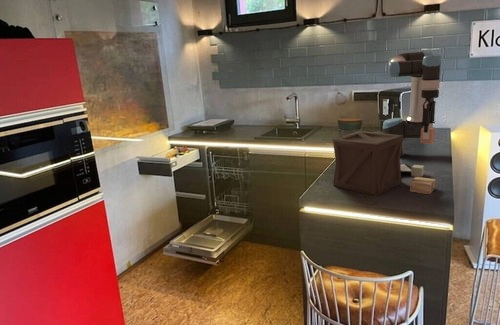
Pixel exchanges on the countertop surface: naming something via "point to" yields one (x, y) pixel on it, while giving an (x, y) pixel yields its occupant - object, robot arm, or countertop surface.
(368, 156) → the wooden crate
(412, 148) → the countertop surface
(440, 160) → the countertop surface
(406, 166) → the empty snack wrapper
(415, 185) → the oak block
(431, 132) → the terracotta block
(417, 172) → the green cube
